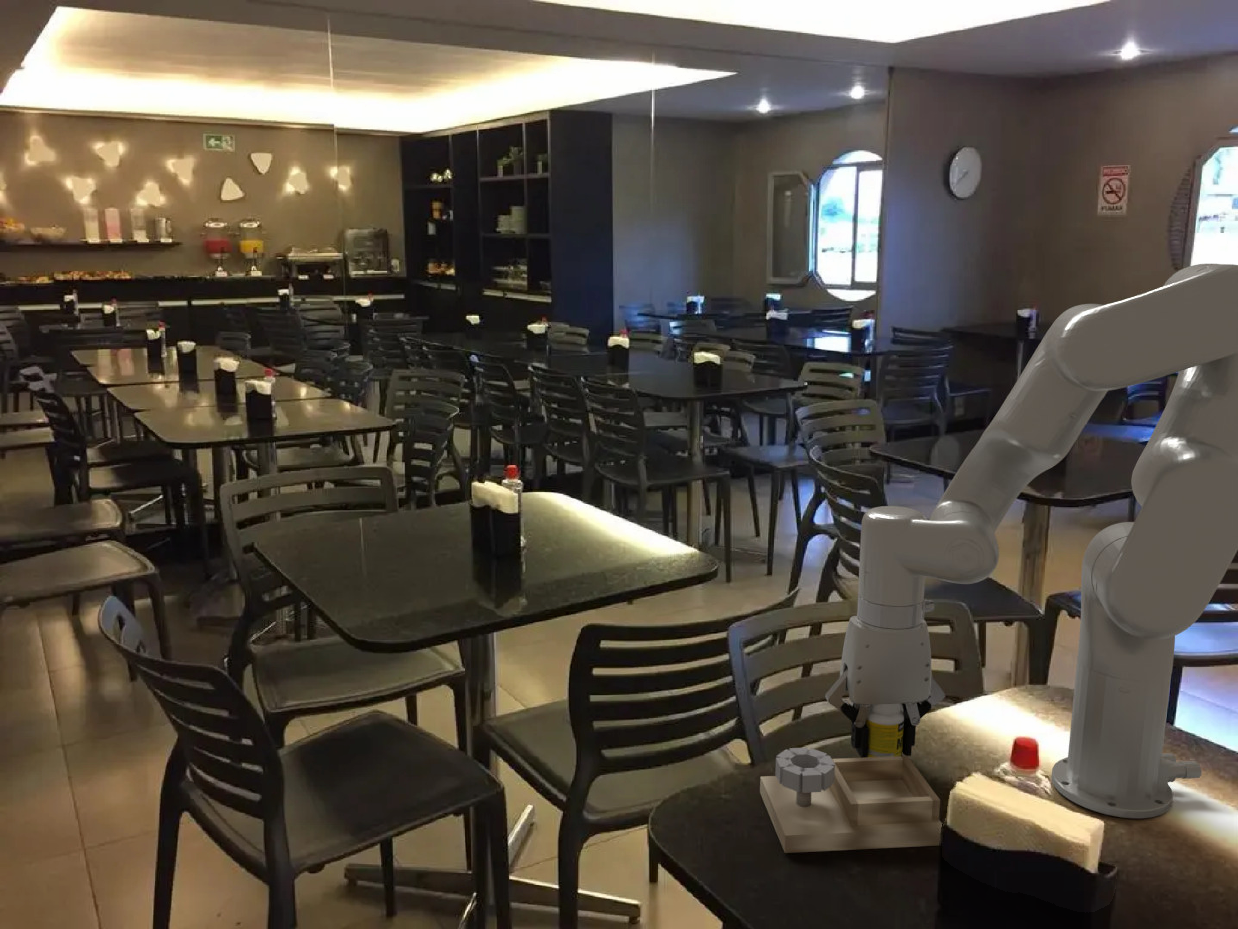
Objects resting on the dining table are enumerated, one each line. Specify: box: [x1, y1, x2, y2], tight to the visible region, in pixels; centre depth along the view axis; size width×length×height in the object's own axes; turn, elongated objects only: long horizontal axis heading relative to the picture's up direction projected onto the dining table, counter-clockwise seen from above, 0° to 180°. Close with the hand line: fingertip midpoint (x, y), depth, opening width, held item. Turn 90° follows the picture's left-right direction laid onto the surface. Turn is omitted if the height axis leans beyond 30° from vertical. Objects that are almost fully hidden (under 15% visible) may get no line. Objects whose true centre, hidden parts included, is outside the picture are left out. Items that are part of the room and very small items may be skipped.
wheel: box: [774, 747, 835, 793], centre depth 108 cm, size 6×6×2 cm
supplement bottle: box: [866, 704, 904, 757], centre depth 121 cm, size 5×5×8 cm
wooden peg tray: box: [759, 755, 943, 854], centre depth 109 cm, size 17×12×6 cm
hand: (882, 750), depth 121 cm, fingers closed on supplement bottle, 4 cm apart
